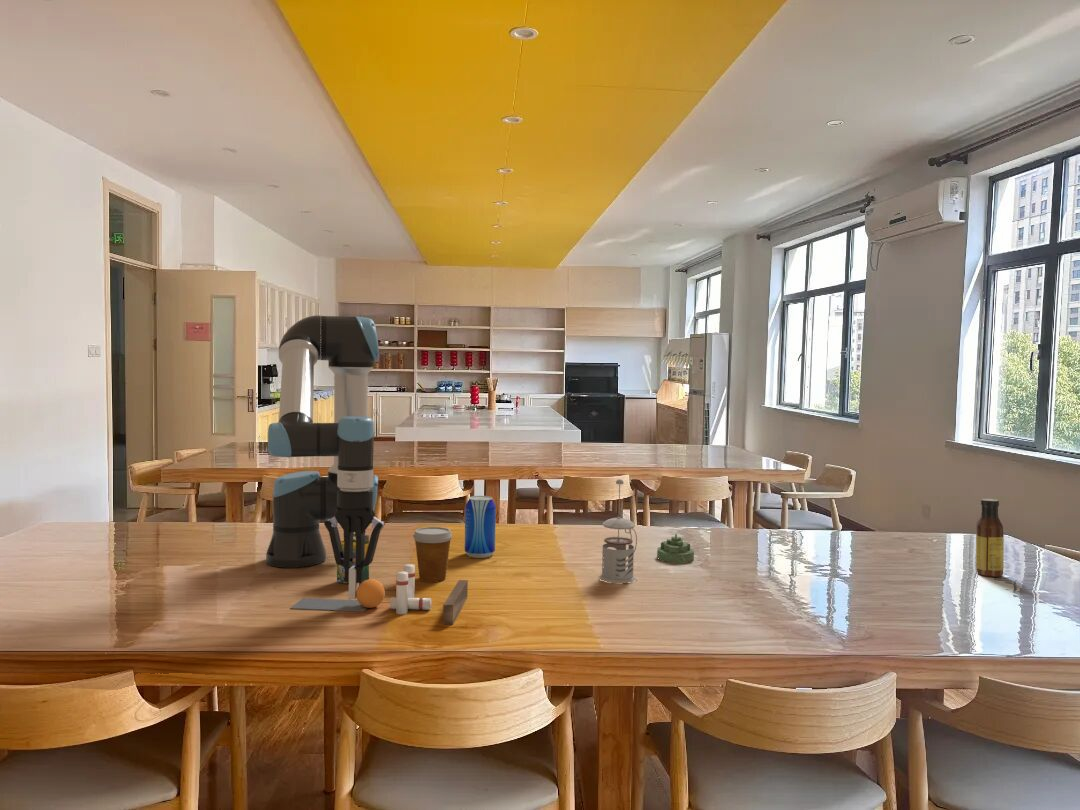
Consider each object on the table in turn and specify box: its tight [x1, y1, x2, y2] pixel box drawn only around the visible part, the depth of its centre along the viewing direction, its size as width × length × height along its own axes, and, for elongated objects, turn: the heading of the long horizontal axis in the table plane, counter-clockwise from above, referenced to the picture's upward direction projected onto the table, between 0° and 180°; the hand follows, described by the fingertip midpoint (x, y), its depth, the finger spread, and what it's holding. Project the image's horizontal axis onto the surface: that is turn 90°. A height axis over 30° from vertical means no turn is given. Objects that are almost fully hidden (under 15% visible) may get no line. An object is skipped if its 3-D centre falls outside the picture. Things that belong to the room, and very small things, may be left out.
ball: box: [356, 578, 386, 609], centre depth 165 cm, size 6×6×6 cm
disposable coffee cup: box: [412, 526, 453, 583], centre depth 187 cm, size 10×10×12 cm
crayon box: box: [336, 533, 370, 585], centre depth 182 cm, size 7×3×12 cm, turn 70°
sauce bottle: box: [975, 498, 1005, 578], centre depth 200 cm, size 7×6×20 cm
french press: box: [598, 478, 638, 584], centre depth 190 cm, size 10×12×25 cm
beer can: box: [464, 495, 497, 559], centre depth 211 cm, size 8×8×16 cm
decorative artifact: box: [656, 533, 695, 564], centre depth 211 cm, size 10×7×10 cm
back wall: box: [442, 579, 469, 625], centre depth 163 cm, size 2×18×4 cm, turn 176°
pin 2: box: [403, 563, 416, 598], centre depth 167 cm, size 2×2×8 cm
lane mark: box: [290, 597, 368, 613], centre depth 165 cm, size 16×7×1 cm, turn 86°
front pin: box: [389, 596, 432, 611], centre depth 164 cm, size 2×2×8 cm
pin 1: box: [395, 570, 409, 615], centre depth 161 cm, size 2×2×8 cm
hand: (353, 597), depth 165 cm, fingers closed
